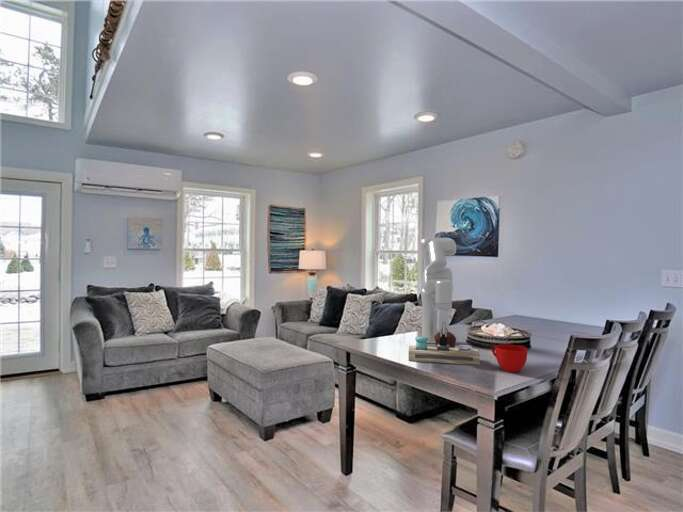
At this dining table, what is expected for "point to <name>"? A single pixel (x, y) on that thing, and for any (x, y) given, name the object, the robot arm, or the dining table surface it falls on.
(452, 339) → the muffin
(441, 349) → the dark gray knob
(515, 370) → the ceramic cup
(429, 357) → the box
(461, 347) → the steel knob
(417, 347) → the teal knob
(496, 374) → the dining table surface
